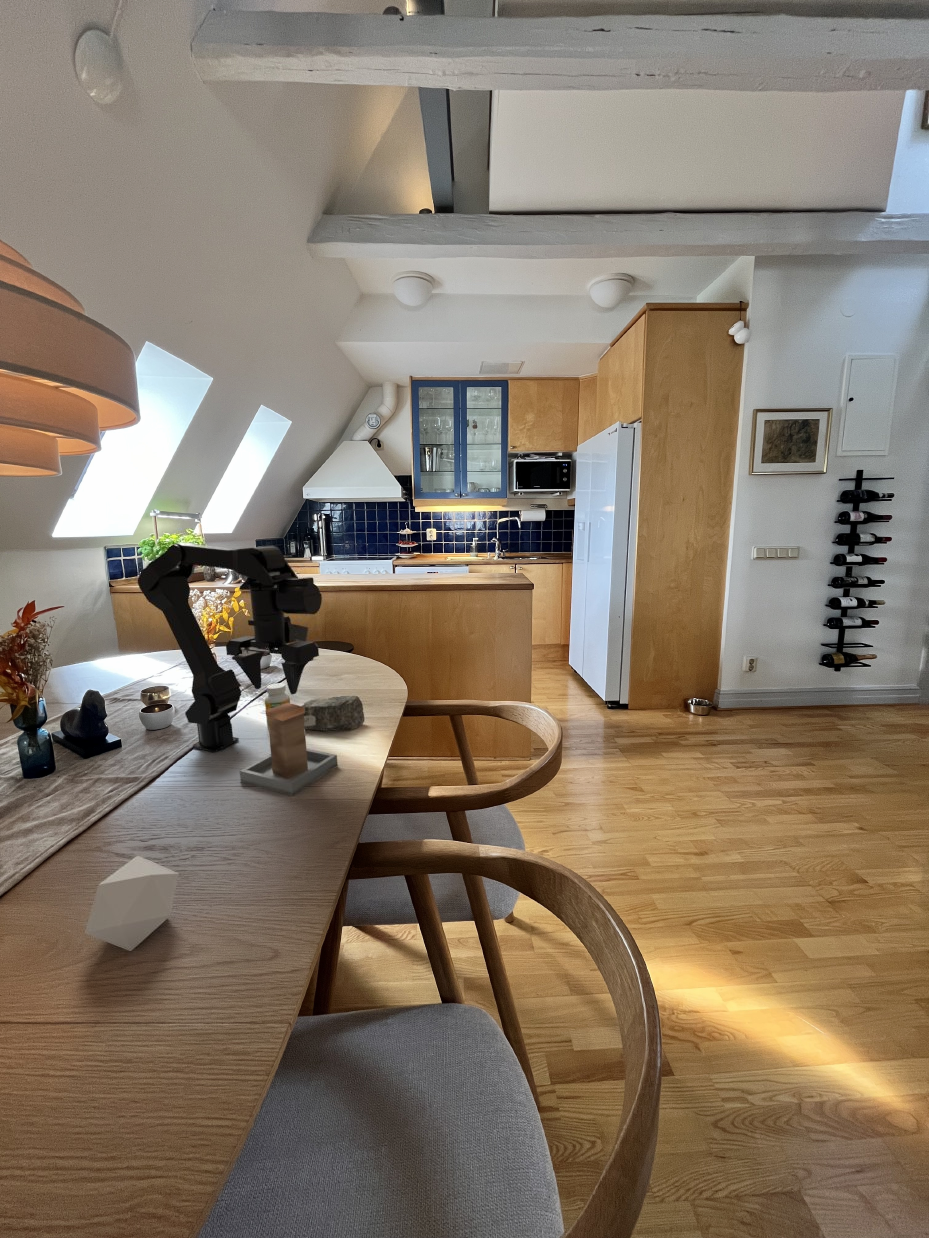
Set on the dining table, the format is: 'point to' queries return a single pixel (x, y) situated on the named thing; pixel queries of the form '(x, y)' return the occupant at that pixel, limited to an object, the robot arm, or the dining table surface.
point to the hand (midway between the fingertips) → (275, 691)
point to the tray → (266, 779)
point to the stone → (333, 713)
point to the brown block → (287, 739)
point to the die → (132, 903)
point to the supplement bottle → (276, 696)
